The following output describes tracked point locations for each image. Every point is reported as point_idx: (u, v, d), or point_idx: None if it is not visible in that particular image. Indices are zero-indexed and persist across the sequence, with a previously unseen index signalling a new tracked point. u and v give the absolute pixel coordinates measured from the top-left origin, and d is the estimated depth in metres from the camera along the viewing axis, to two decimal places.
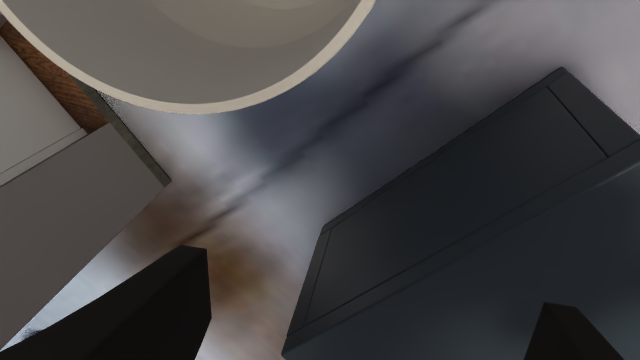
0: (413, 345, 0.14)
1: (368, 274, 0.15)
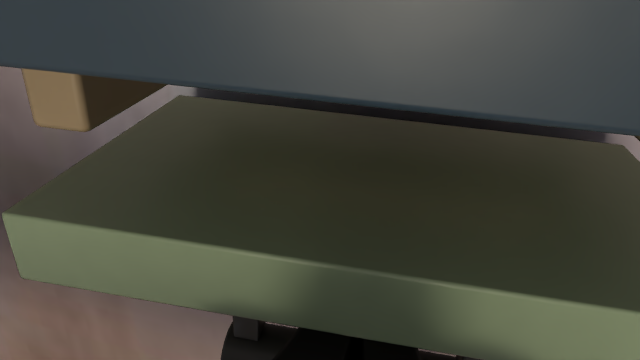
0: None
1: None
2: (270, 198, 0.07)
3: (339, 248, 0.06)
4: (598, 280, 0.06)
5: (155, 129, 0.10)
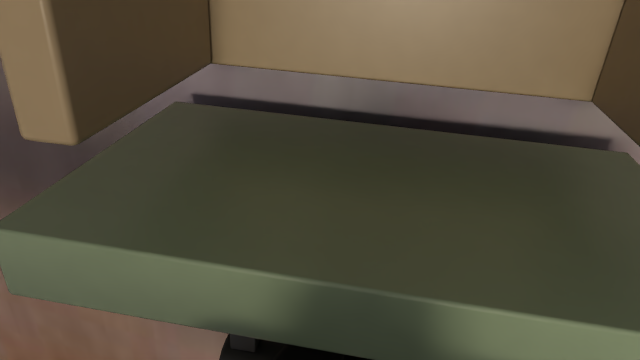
0: None
1: None
2: (266, 211, 0.07)
3: (335, 264, 0.06)
4: (604, 298, 0.06)
5: (150, 138, 0.10)
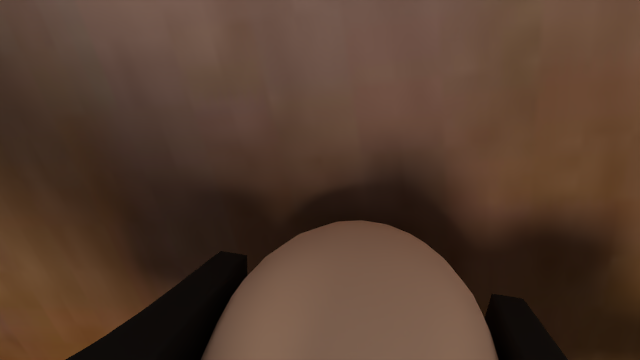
0: None
1: None
2: None
3: None
4: None
5: None
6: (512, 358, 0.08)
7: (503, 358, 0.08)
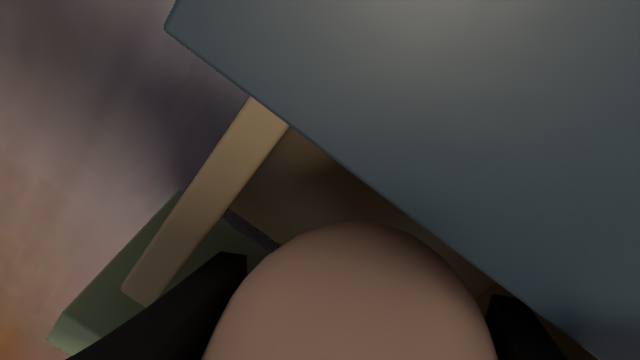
0: None
1: None
2: None
3: None
4: None
5: None
6: (512, 358, 0.08)
7: (502, 358, 0.08)
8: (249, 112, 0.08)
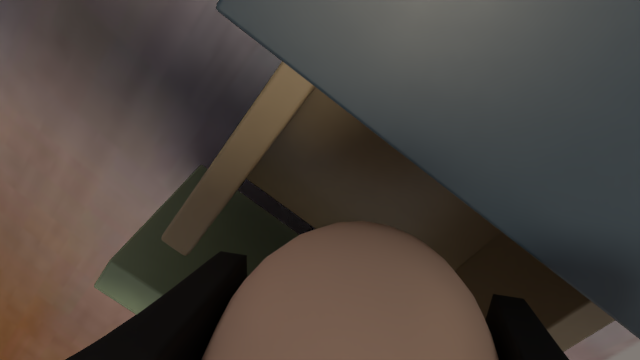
0: None
1: None
2: None
3: None
4: None
5: None
6: (514, 358, 0.08)
7: (504, 358, 0.08)
8: (277, 80, 0.09)
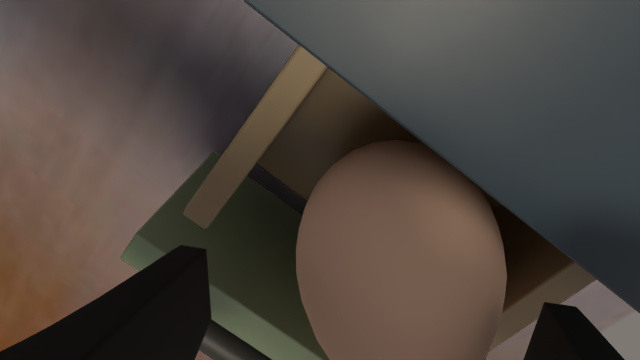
0: None
1: None
2: (255, 273, 0.15)
3: (279, 318, 0.14)
4: None
5: None
6: None
7: None
8: (290, 68, 0.10)
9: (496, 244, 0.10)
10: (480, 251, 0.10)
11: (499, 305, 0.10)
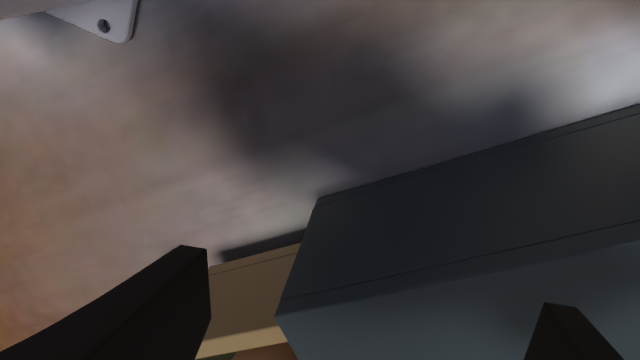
0: None
1: None
2: None
3: None
4: None
5: None
6: None
7: None
8: (277, 329, 0.16)
9: None
10: None
11: None
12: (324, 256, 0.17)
